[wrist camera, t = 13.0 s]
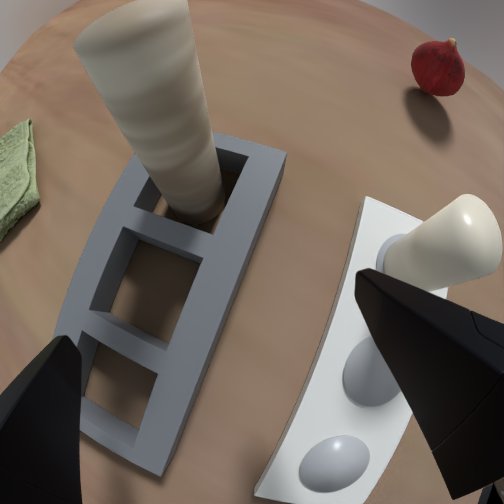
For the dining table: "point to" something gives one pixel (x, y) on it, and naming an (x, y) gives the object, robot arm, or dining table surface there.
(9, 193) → the washcloth
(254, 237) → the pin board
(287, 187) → the dining table surface
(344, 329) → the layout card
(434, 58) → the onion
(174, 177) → the birch peg
